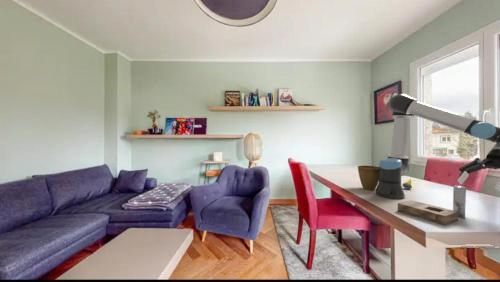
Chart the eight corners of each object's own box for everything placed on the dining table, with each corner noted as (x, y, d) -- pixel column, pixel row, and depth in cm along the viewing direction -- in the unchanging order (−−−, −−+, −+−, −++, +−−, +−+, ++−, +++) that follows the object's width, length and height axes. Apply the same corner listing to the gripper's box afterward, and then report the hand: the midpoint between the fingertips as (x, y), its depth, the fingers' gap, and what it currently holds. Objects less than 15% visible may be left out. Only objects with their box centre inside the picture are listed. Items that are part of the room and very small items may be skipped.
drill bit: (399, 188, 145) (405, 178, 148) (408, 192, 142) (413, 182, 145) (402, 185, 141) (408, 175, 144) (410, 190, 138) (416, 179, 141)
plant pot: (352, 187, 146) (352, 165, 145) (367, 186, 151) (367, 165, 150) (370, 192, 132) (371, 169, 131) (386, 191, 137) (387, 168, 136)
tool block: (397, 210, 99) (397, 203, 99) (410, 207, 104) (411, 200, 104) (444, 225, 83) (445, 216, 83) (458, 220, 88) (458, 211, 88)
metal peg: (451, 215, 94) (451, 186, 93) (455, 214, 95) (455, 185, 95) (462, 218, 90) (463, 188, 90) (466, 217, 92) (467, 187, 91)
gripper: (548, 162, 84) (521, 199, 82) (472, 156, 109) (450, 184, 106) (539, 149, 83) (512, 186, 81) (465, 147, 108) (442, 175, 105)
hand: (477, 185), depth 94 cm, fingers open, 13 cm apart
